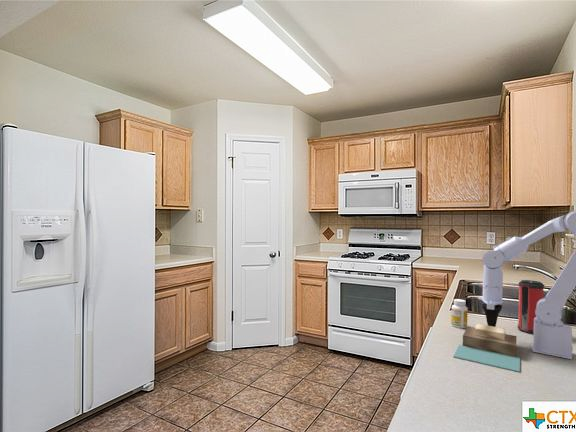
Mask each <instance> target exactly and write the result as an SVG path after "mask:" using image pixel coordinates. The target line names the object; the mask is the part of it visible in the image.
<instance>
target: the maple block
mask: <svg viewBox="0 0 576 432" xmlns="http://www.w3.org/2000/svg"><path fill="white" fill-rule="evenodd" d="M474 328H475V335H479V336H484V337H489V338H495V339H500V340H505V334H506V328H505V327H498V326H495V327H493V326H488V324H486V325H485V324H481V323H476V324H475V327H474Z"/></svg>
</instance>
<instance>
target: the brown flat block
mask: <svg viewBox="0 0 576 432" xmlns="http://www.w3.org/2000/svg"><path fill="white" fill-rule="evenodd" d="M517 339H518V338H517V335H511V334H508V333H505V340H500V339H495V338H489V337H484V336H479V335H475V327H474V328H473V327H468V326H467V327H466V329H465V331H464V332H463V334H462V346H467V347H471V348H476V349H481V350H486V351H491V352H495V353H500V354H505V355H510V356H514V357H517Z"/></svg>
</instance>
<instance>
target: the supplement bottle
mask: <svg viewBox="0 0 576 432" xmlns="http://www.w3.org/2000/svg"><path fill="white" fill-rule="evenodd" d="M466 302H467V301H466V300H464V299H460V298H455V299H453V304H452V306H451V314H450V315H451V320H450V321H451V322H450V323H451V326H453V327H454V328H456V329H457V328H458V329H465V328H467V327H468V307H467V306H466Z"/></svg>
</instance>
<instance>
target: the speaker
mask: <svg viewBox="0 0 576 432" xmlns="http://www.w3.org/2000/svg"><path fill="white" fill-rule="evenodd" d="M545 286H546V285H545V284H544V283H542V282H541V281H538V280H537V281H536V280H530V279H523V280H522V279H521V280H520V281H519V282H518V320H517V321H518V322H517V329H518V330H519V331H520V332H523V333H527V334H531V335H534V318H535V317H537V316H536V314H535V310H536V305H537V302H538V301H539V300H540V299H543V298H544V288H545Z"/></svg>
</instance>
